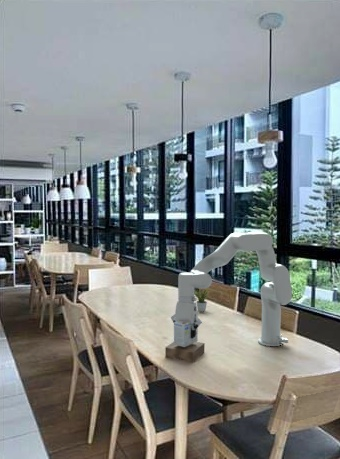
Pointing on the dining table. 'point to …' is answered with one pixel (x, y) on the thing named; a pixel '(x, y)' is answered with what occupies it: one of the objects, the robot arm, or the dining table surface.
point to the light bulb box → (183, 334)
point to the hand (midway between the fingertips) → (185, 335)
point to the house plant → (201, 300)
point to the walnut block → (185, 351)
